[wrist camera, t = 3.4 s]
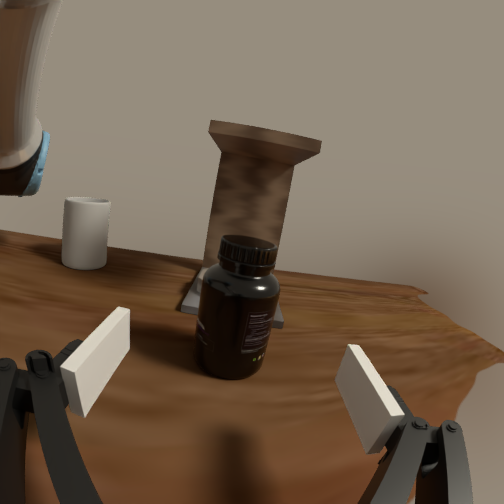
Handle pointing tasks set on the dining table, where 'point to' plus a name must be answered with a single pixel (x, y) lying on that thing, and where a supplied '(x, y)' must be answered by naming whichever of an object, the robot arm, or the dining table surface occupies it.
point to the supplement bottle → (237, 308)
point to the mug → (85, 232)
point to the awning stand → (250, 190)
